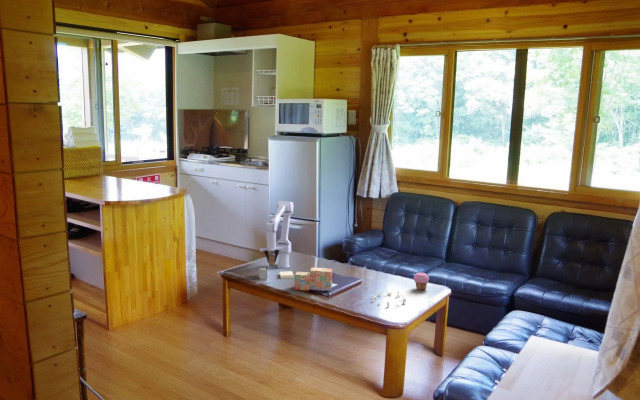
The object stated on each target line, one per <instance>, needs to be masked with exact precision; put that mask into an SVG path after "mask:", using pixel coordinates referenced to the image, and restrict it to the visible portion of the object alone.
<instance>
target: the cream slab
mask: <svg viewBox="0 0 640 400" xmlns="http://www.w3.org/2000/svg"><path fill="white" fill-rule="evenodd" d="M279 277H280V280H281V279H295V274H294V273H293V271H292V270H287V271H285V270H284V271H279Z"/></svg>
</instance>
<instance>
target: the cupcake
mask: <svg viewBox="0 0 640 400" xmlns="http://www.w3.org/2000/svg"><path fill="white" fill-rule="evenodd" d="M429 280H430V276H429V275H428V274H427V273H425V272H417V273H416V274H415V275H414V276H413V281H414V283H415V286H416V289H417V290H418V291H425V290H427V285H428V282H429Z"/></svg>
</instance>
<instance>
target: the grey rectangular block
mask: <svg viewBox="0 0 640 400" xmlns="http://www.w3.org/2000/svg"><path fill="white" fill-rule="evenodd" d="M267 272H268V269H267V268H266V267H259V268H258V278H259V279H260V280H264V279H265V280H266V279H268V273H267Z"/></svg>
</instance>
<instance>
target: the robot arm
mask: <svg viewBox="0 0 640 400" xmlns="http://www.w3.org/2000/svg"><path fill="white" fill-rule="evenodd" d="M294 206H295V205H294V202H293V201H285V200H283V201H282V200H278V202H277V204H276V208H277V209H276V212H275V214H273V215H272V216H271V218H270V219H269V221H268V222H266V224H265V226H264V231H265V234H266V247H259V251H260V253H261V252H264V255H265V258H266V262H267V263H268V262H269V259H268V255H269V252H274V255H275V263H276V266H277V269H286V268H287V269H289V268H291V266H290V253H291V252H292V242H291V241H290V240H289V231H290V224H291V223H290V222H291V216H292V215H293V214H294V208H295V207H294ZM281 216H282V221H281ZM281 222H282V223H281ZM280 223H281V224H282V225H281V230H280V231H281V232H280V238H279V239H278V240H277V231H278V227H279V224H280Z"/></svg>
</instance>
